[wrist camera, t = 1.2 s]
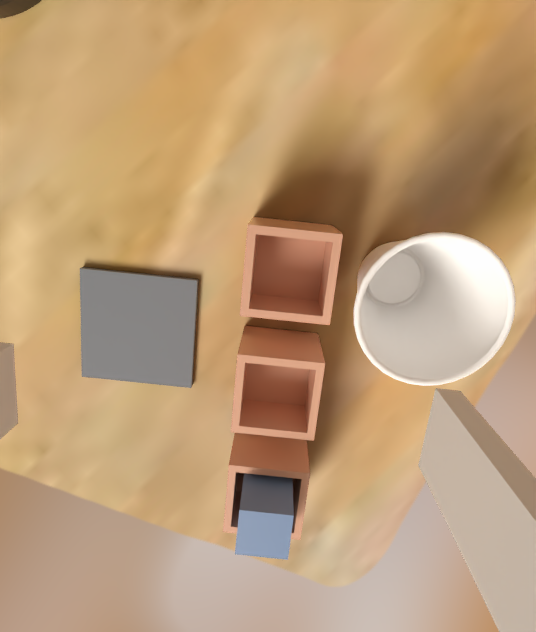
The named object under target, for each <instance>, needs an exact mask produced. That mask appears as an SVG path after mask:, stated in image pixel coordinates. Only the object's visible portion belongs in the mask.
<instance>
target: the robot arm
mask: <svg viewBox="0 0 536 632" xmlns="http://www.w3.org/2000/svg"><path fill="white" fill-rule="evenodd" d="M40 1H41V0H0V18H5V17H10V16H13V15H16V14H19V13H21V12H24V11H26V10H28V9H29V8H31V7H33V6H34V5H36V4H37V3H39V2H40ZM17 424H18V413H17V396H16V379H15V362H14V344H11V343H1V342H0V439H1V438H2V437H3V436H4V435H6V434H7V433H8V432H9V431H10V430H11V429H12V428H13V427H14V426H15V425H17ZM419 468H420V470H421V472H422V474H423V476H424V478H425V480H426V482H427V484H428V486H429V488H430V490H431V492H432V494H433V496H434V498H435V500H436V502H437V505H438V506H439V509H440V510H441V513H442V515H443V517H444V519H445V521H446V523H447V525H448V527H449V529H450V531H451V533H452V535H453V538H454V539H455V542H456V544H457V546H458V548H459V549H460V552H461V554H462V556H463V558H464V560H465V562H466V564H467V566H468V568H469V570H470V572H471V574H472V577H473V579H474V581H475V583H476V585H477V587H478V589H479V591H480V593H481V594H482V597H483V599H484V601H485V603H486V605H487V607H488V609H489V612H490V614H491V616H492V617H493V620H494V622H495V624H496V626H497V628H498V630H499V632H536V478H535V477H534V476H533V475H532V473H531V472H530V471H529V470H528V469H527V468H526V467H525V465H524V464H523V463H522V462H521V461H520V460H519V458H518V457H517V456H516V455H515V454H514V453H513V451H512V450H511V449H510V448H509V447H508V446H507V444H506V443H505V442H504V441H503V440H502V439H501V438H500V436H499V435H498V434H497V433H496V432H495V431H494V430H493V428H492V427H491V426H490V425H489V424H488V422H487V421H486V420H485V419H484V418H483V417H482V416H481V414H480V413H479V412H478V411H477V410H476V409H475V407H474V406H473V405H472V404H471V403H470V402H469V400H468V399H467V398H466V397H465V396H464V395H463V394H462V392H461V391H456V390H447V389H437V388H436V389H435V393H434V398H433V402H432V407H431V411H430V416H429V420H428V425H427V429H426V434H425V438H424V443H423V447H422V452H421V456H420V461H419Z"/></svg>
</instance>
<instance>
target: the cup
mask: <svg viewBox="0 0 536 632" xmlns="http://www.w3.org/2000/svg"><path fill="white" fill-rule="evenodd" d="M515 302H516V300H515V292H514V285H513V282H512V279H511V277H510V274H509V271H508V270H507V268H506V266H505V265H504V263H503V262H502V260H501V259H500V258H499V257H498V256H497V255H496V254H495V253H494V252H493V251H492V250H491V249H490V248H489V247H487V246H486V245H484V244H483V243H481V242H479V241H478V240H476V239H473V238H471V237H468V236H465V235H462V234H457V233H450V232H434V233H426V234H422V235H418V236H414V237H411V238H409V239H407V240H402V241H395V242H389V243H386V244H383V245H380V246H378V247H376V248H375V249H374V250H372V251H371V252H370V253H369V254H368V255H367V256H366V257H365V259H364V260H363V262H362V263H361V266H360V268H359V271H358V276H357V294H356V299H355V305H354V327H355V331H356V336H357V339H358V341H359V344H360V346H361V348H362V350H363V352H364V353H365V354H366V356H367V357H368V358H369V360H370V361H371V362H372V363H373V364H374V365H375V366H376V367H377V368H378V369H380V370H381V371H382V372H383V373H385V374H387V375H389V376H390V377H392V378H394V379H396V380H399V381H402V382H405V383H408V384H415V385H423V386H427V385H441V384H445V383H450V382H454V381H456V380H459V379H461V378H464V377H466V376H468V375H470V374H472V373H473V372H475V371H476V370H478V369H480V368H481V367H482V366H483V365H485V364H486V363H487V362H488V361H489V360H490V359H491V358H492V357H493V356H494V355H495V354H496V352H497V351H498V350H499V349H500V347H501V346H502V345H503V343H504V341H505V339H506V337H507V335H508V333H509V331H510V329H511V325H512V322H513V319H514V313H515Z"/></svg>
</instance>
